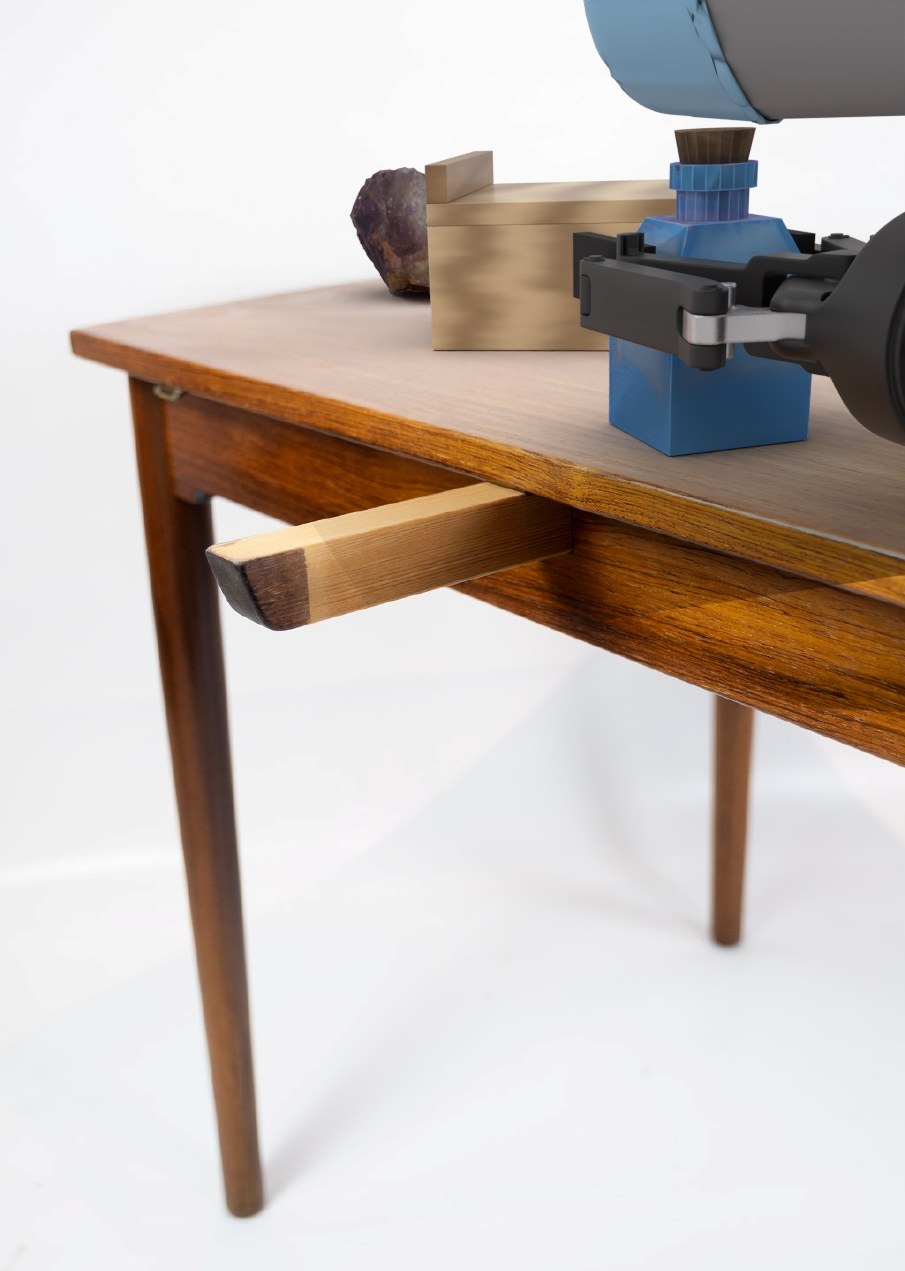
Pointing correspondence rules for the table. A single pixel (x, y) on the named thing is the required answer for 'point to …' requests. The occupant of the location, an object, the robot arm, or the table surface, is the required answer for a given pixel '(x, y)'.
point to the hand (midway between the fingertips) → (655, 258)
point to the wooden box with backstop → (519, 252)
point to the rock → (395, 227)
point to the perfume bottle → (747, 386)
